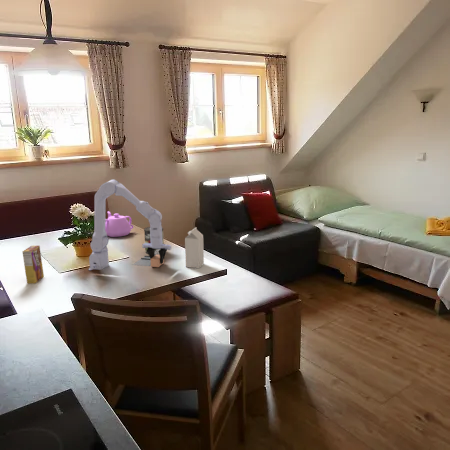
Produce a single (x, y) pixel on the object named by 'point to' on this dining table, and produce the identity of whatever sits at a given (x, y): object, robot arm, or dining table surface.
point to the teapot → (117, 225)
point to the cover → (156, 261)
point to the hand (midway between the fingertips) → (157, 262)
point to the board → (144, 261)
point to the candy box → (33, 264)
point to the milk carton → (194, 249)
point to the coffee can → (147, 237)
